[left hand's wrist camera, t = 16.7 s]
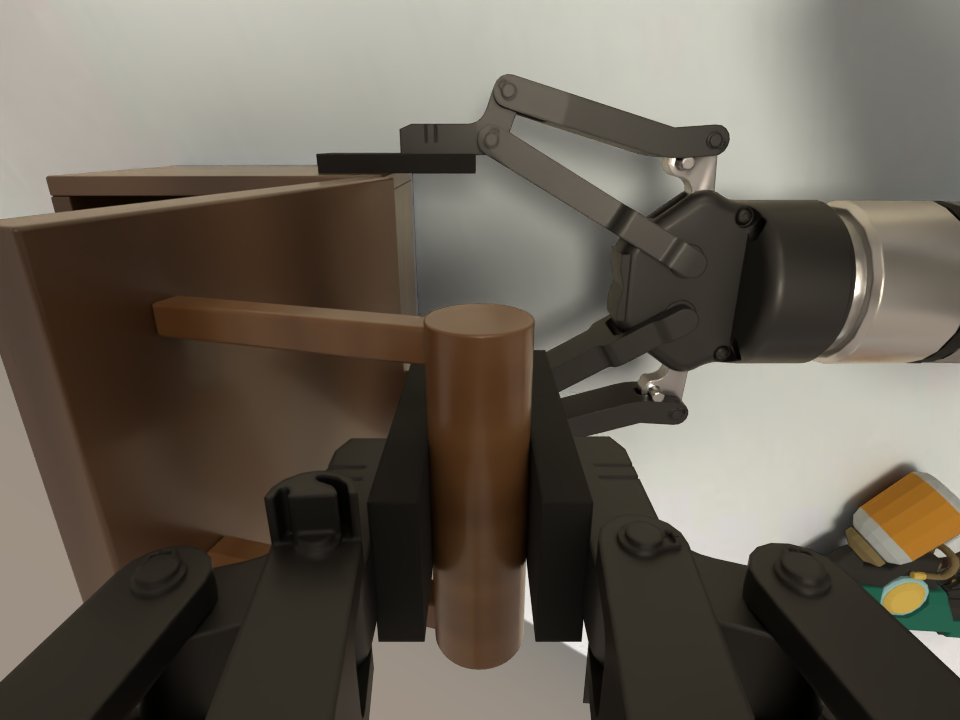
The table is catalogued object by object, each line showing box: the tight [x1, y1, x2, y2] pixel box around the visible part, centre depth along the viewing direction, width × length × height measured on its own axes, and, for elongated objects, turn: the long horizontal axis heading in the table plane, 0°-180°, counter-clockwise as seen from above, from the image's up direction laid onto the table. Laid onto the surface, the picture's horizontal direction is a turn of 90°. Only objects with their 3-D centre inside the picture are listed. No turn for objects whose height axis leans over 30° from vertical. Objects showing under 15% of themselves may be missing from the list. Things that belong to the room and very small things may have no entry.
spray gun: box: [825, 471, 960, 638], centre depth 39 cm, size 4×17×15 cm
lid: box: [0, 177, 534, 670], centre depth 15 cm, size 14×10×9 cm
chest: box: [46, 165, 419, 380], centre depth 28 cm, size 13×10×10 cm
